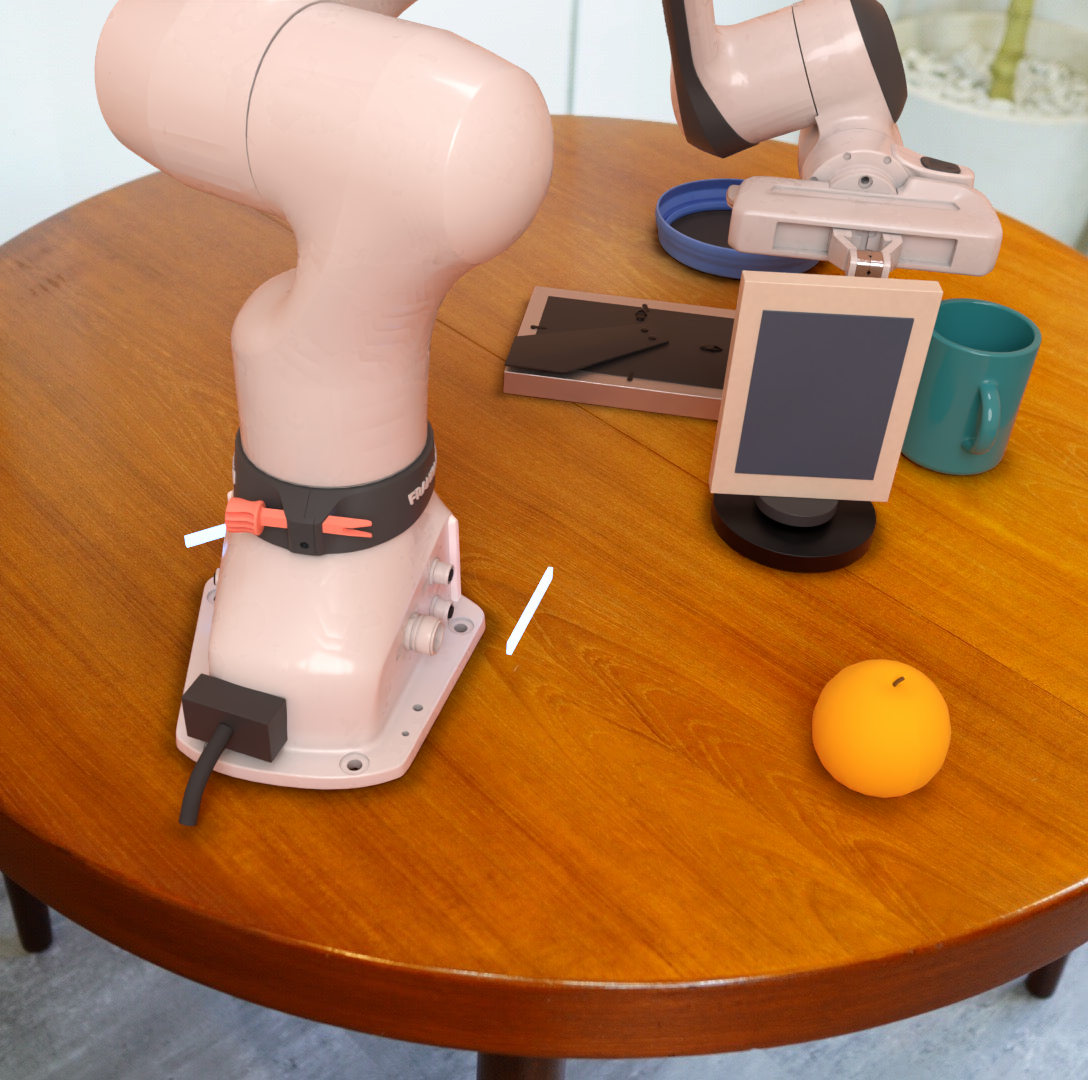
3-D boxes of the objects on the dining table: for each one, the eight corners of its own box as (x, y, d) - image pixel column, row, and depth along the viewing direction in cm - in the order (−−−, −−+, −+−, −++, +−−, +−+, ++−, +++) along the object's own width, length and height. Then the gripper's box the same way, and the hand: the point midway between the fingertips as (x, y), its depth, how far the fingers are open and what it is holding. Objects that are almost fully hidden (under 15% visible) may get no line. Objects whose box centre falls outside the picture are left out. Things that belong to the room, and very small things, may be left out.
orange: (792, 717, 82) (814, 627, 77) (917, 721, 82) (946, 631, 78) (815, 818, 76) (841, 727, 71) (950, 821, 76) (984, 730, 71)
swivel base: (878, 582, 93) (882, 565, 92) (708, 562, 94) (711, 545, 93) (866, 485, 102) (870, 469, 102) (712, 467, 103) (714, 451, 102)
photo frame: (890, 531, 95) (951, 308, 84) (711, 522, 95) (748, 297, 83) (875, 483, 100) (931, 265, 88) (703, 474, 99) (738, 254, 88)
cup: (910, 499, 101) (946, 373, 94) (879, 414, 111) (910, 294, 104) (1026, 504, 102) (1070, 379, 95) (986, 419, 111) (1023, 300, 104)
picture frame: (503, 393, 110) (751, 425, 108) (504, 363, 108) (756, 395, 107) (533, 306, 123) (757, 333, 121) (535, 278, 121) (761, 305, 119)
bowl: (852, 283, 130) (859, 250, 128) (674, 288, 127) (678, 254, 125) (797, 206, 144) (802, 175, 142) (636, 209, 141) (639, 177, 139)
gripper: (732, 144, 105) (730, 217, 94) (993, 169, 103) (1022, 246, 92) (721, 219, 108) (718, 297, 98) (973, 244, 107) (998, 326, 96)
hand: (868, 272), depth 95 cm, fingers closed
